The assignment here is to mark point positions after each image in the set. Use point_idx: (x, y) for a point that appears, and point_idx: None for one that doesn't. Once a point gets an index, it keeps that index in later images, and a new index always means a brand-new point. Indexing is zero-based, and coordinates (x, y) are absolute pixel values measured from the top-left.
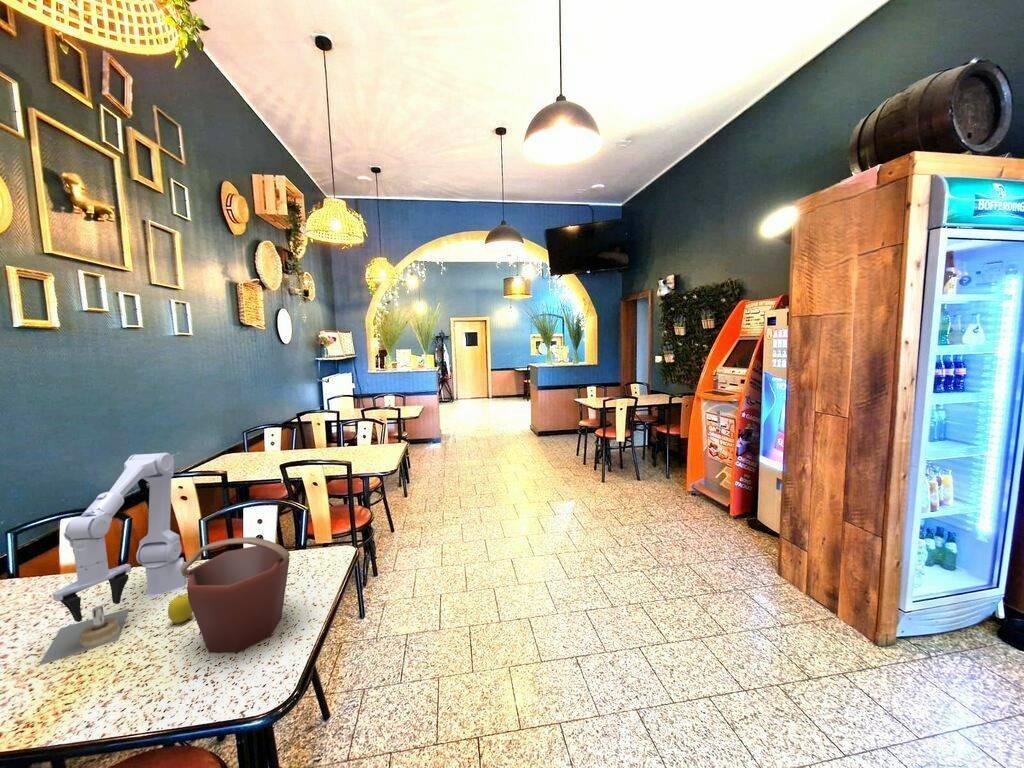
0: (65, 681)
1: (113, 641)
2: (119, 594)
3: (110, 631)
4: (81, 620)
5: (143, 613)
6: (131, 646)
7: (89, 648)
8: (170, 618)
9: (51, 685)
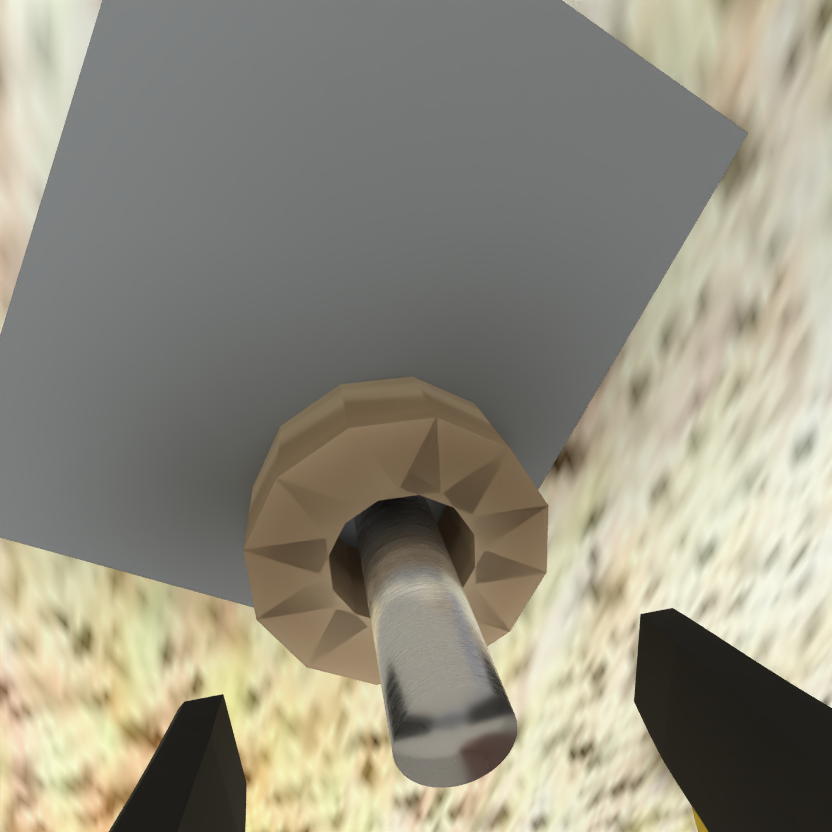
0: (97, 827)
1: None
2: None
3: None
4: (242, 786)
5: (725, 352)
6: None
7: None
8: (699, 826)
9: (26, 808)
